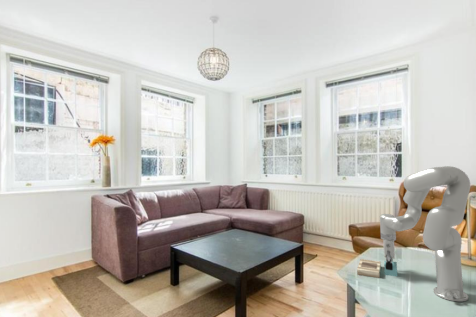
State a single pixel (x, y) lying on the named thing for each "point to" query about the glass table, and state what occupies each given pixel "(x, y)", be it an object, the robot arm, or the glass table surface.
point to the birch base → (369, 268)
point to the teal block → (391, 272)
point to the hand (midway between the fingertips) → (389, 266)
